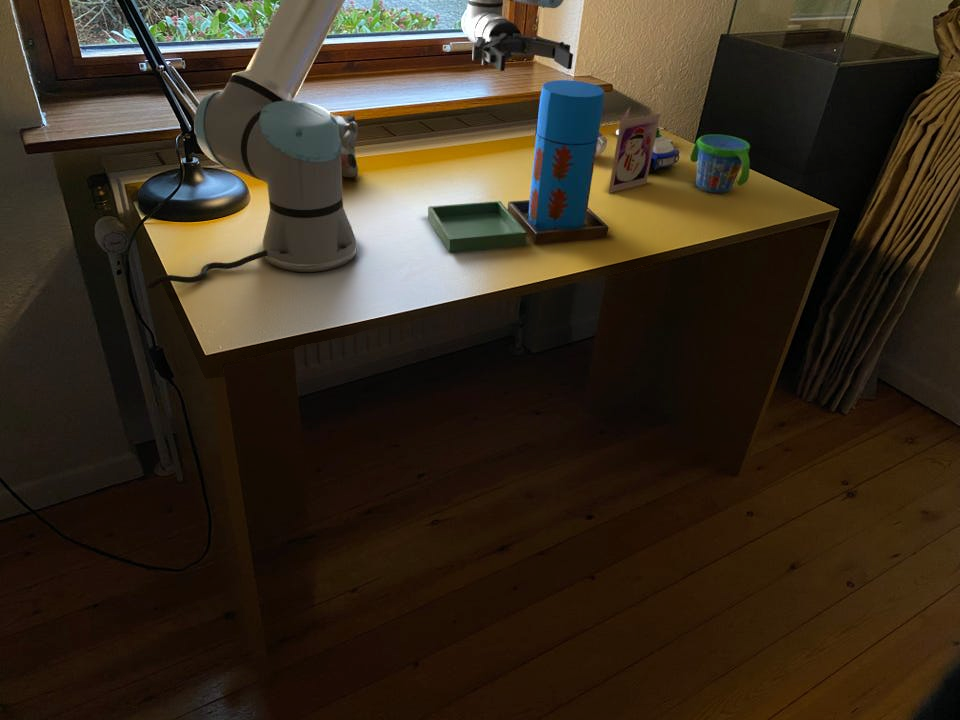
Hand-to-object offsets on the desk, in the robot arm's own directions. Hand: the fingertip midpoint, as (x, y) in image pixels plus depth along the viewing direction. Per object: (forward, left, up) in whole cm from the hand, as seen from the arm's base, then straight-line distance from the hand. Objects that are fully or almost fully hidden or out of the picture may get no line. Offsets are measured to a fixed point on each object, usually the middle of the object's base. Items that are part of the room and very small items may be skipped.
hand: (537, 62), depth 137 cm
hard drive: (+42, +26, -25) cm, 55 cm away
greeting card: (+22, +1, -25) cm, 34 cm away
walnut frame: (0, -16, -25) cm, 30 cm away
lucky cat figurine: (-38, +16, -25) cm, 48 cm away
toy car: (+34, +10, -25) cm, 44 cm away
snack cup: (+42, -5, -25) cm, 49 cm away
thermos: (0, -16, -25) cm, 30 cm away
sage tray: (-16, -16, -25) cm, 34 cm away
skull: (+20, +17, -25) cm, 36 cm away
